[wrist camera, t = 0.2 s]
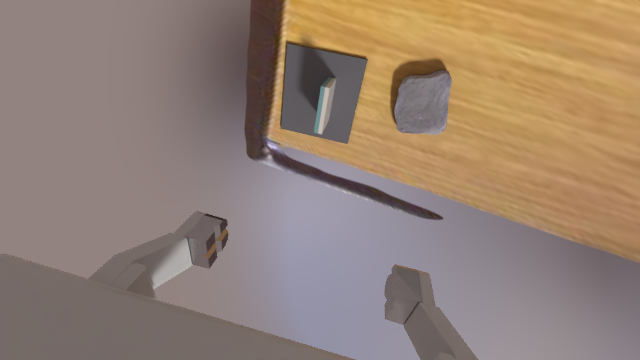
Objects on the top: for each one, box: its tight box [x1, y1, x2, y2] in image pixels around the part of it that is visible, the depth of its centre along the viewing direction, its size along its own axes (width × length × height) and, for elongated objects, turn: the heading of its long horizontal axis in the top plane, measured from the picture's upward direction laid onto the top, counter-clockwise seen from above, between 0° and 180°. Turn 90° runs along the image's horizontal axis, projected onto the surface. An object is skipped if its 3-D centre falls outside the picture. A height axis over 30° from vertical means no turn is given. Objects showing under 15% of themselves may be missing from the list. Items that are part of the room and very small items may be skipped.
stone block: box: [394, 70, 452, 135], centre depth 51 cm, size 12×5×10 cm
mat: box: [281, 43, 367, 144], centre depth 56 cm, size 18×16×1 cm
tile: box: [314, 77, 336, 134], centre depth 52 cm, size 9×2×8 cm, turn 171°
